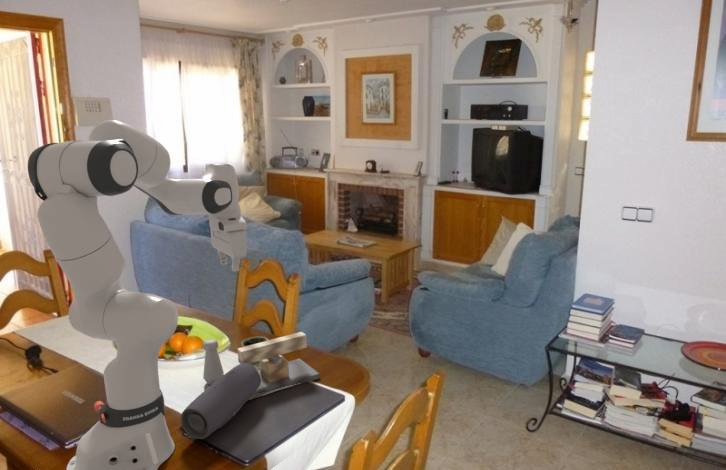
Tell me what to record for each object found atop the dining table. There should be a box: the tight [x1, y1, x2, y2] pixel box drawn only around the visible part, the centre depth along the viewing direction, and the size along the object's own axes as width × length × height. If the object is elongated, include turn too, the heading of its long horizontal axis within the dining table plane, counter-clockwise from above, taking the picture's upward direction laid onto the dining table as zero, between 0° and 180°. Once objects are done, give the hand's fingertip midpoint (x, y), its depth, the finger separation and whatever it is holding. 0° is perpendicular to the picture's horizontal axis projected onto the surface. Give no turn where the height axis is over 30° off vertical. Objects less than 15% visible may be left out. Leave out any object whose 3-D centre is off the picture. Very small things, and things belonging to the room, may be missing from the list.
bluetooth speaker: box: [180, 363, 261, 440], centre depth 138 cm, size 23×9×10 cm, turn 159°
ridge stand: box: [255, 354, 321, 394], centre depth 158 cm, size 22×13×8 cm, turn 123°
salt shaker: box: [202, 338, 225, 386], centre depth 158 cm, size 6×6×13 cm
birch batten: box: [236, 331, 308, 364], centre depth 157 cm, size 20×3×4 cm, turn 123°
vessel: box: [241, 336, 269, 366], centre depth 173 cm, size 12×9×6 cm
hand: (229, 267), depth 157 cm, fingers open, 8 cm apart
